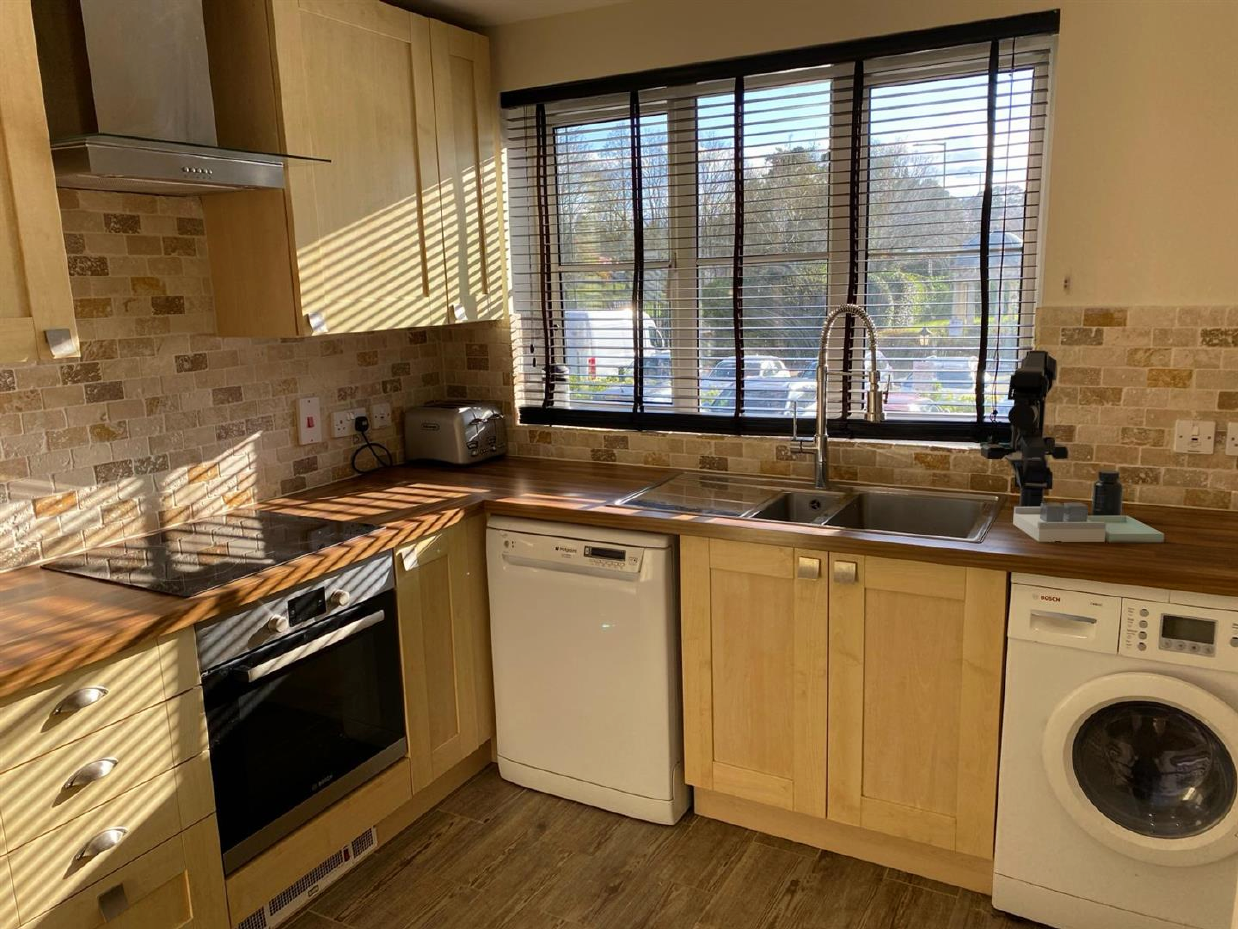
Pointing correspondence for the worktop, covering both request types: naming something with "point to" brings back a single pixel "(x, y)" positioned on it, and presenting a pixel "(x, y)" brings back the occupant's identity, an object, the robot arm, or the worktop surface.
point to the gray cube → (1075, 512)
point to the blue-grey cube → (1052, 512)
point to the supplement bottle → (1107, 494)
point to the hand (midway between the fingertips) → (1021, 486)
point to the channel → (1057, 527)
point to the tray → (1127, 529)
